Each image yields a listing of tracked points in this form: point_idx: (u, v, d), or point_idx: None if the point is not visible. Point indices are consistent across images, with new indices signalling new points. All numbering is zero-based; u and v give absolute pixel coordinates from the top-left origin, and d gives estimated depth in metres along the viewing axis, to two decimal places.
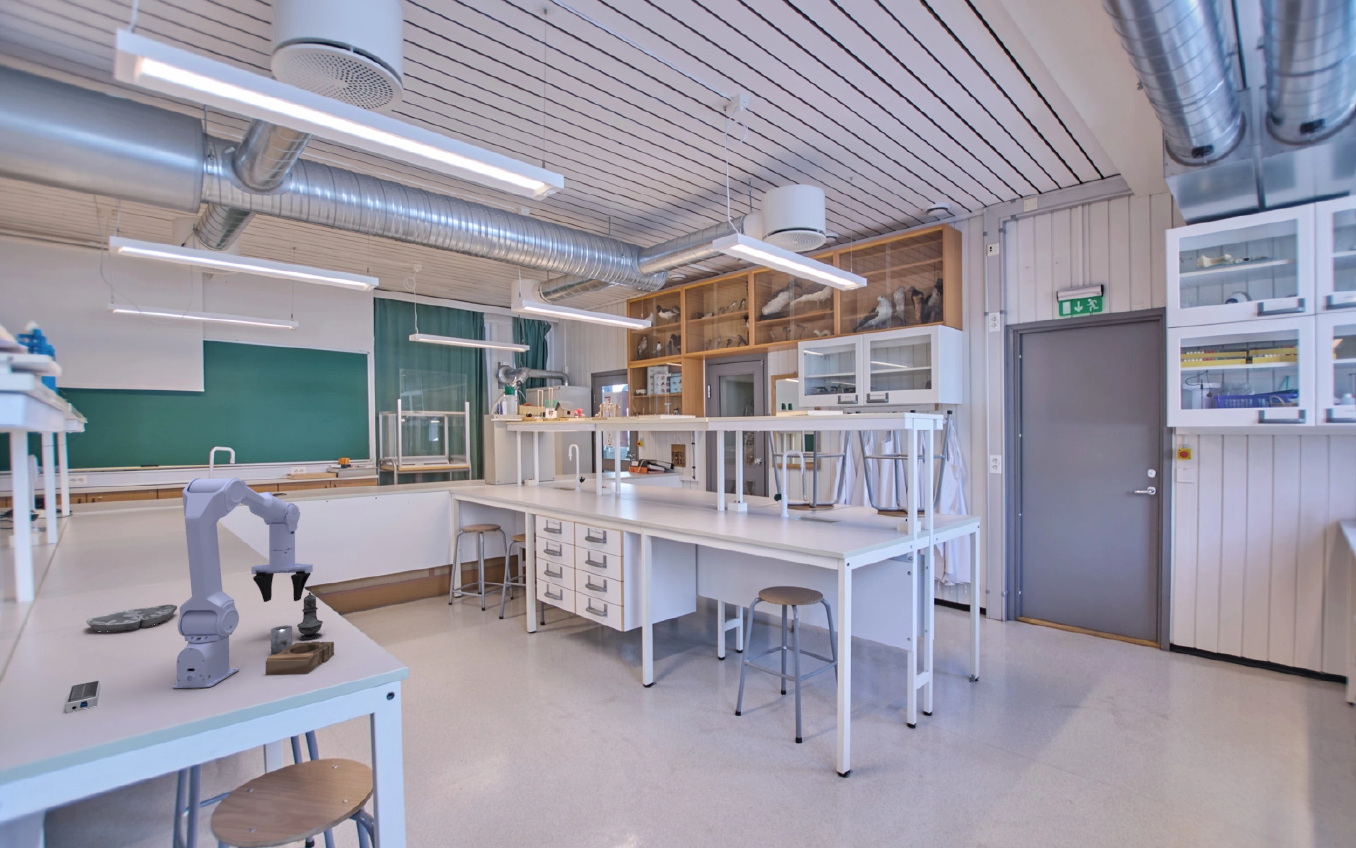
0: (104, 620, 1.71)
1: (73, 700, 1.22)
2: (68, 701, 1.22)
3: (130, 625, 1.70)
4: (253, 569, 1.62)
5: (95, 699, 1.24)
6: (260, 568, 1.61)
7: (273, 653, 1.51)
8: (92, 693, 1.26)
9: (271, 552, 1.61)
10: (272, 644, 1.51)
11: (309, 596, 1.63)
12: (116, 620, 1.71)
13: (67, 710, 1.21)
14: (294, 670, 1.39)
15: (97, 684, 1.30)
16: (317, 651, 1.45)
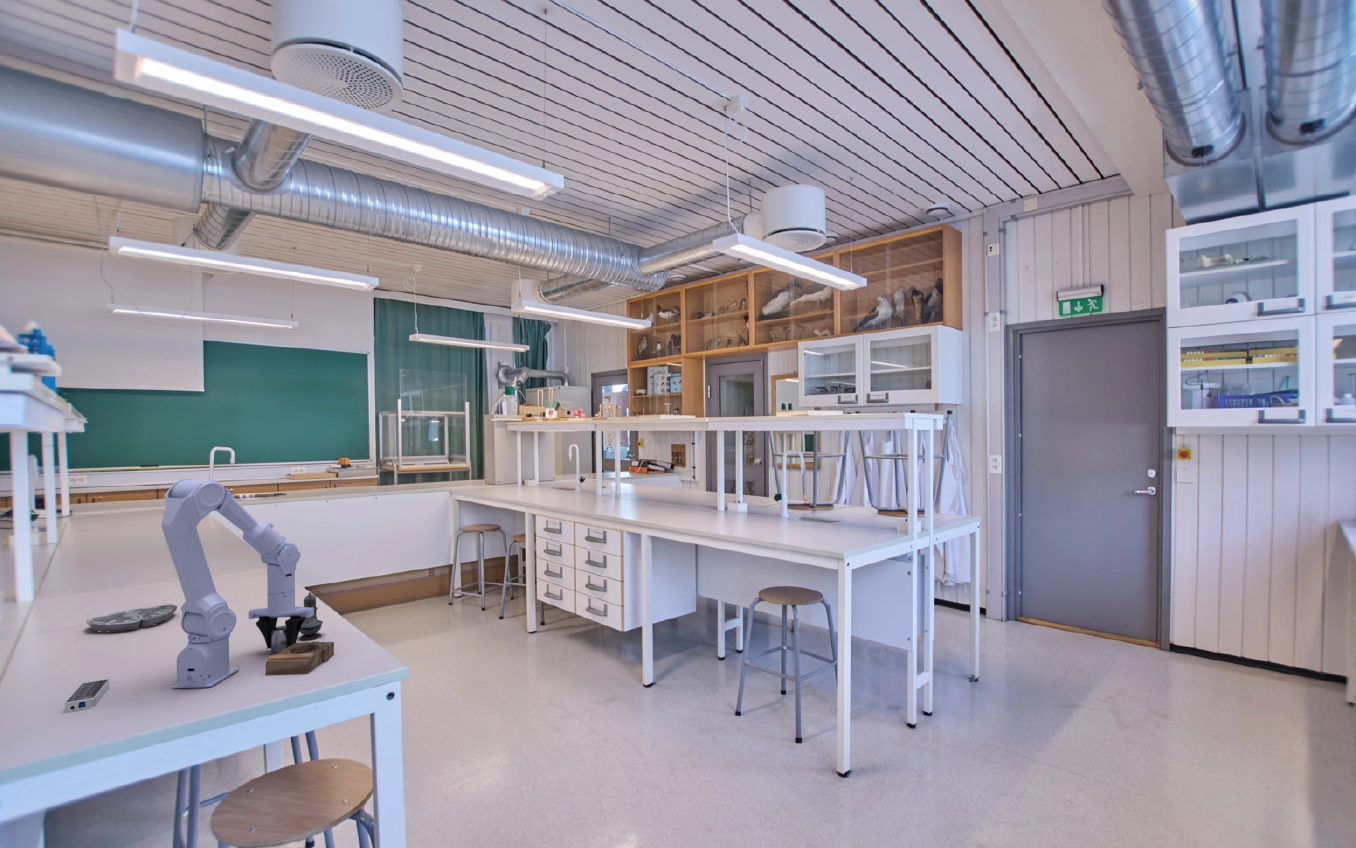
0: (104, 620, 1.71)
1: (72, 700, 1.22)
2: (67, 700, 1.22)
3: (130, 625, 1.70)
4: (250, 614, 1.51)
5: (93, 700, 1.23)
6: (258, 613, 1.51)
7: (273, 653, 1.51)
8: (94, 693, 1.26)
9: (269, 596, 1.50)
10: (272, 644, 1.51)
11: (309, 596, 1.63)
12: (116, 620, 1.71)
13: (66, 710, 1.21)
14: (294, 670, 1.39)
15: (104, 683, 1.30)
16: (317, 651, 1.45)
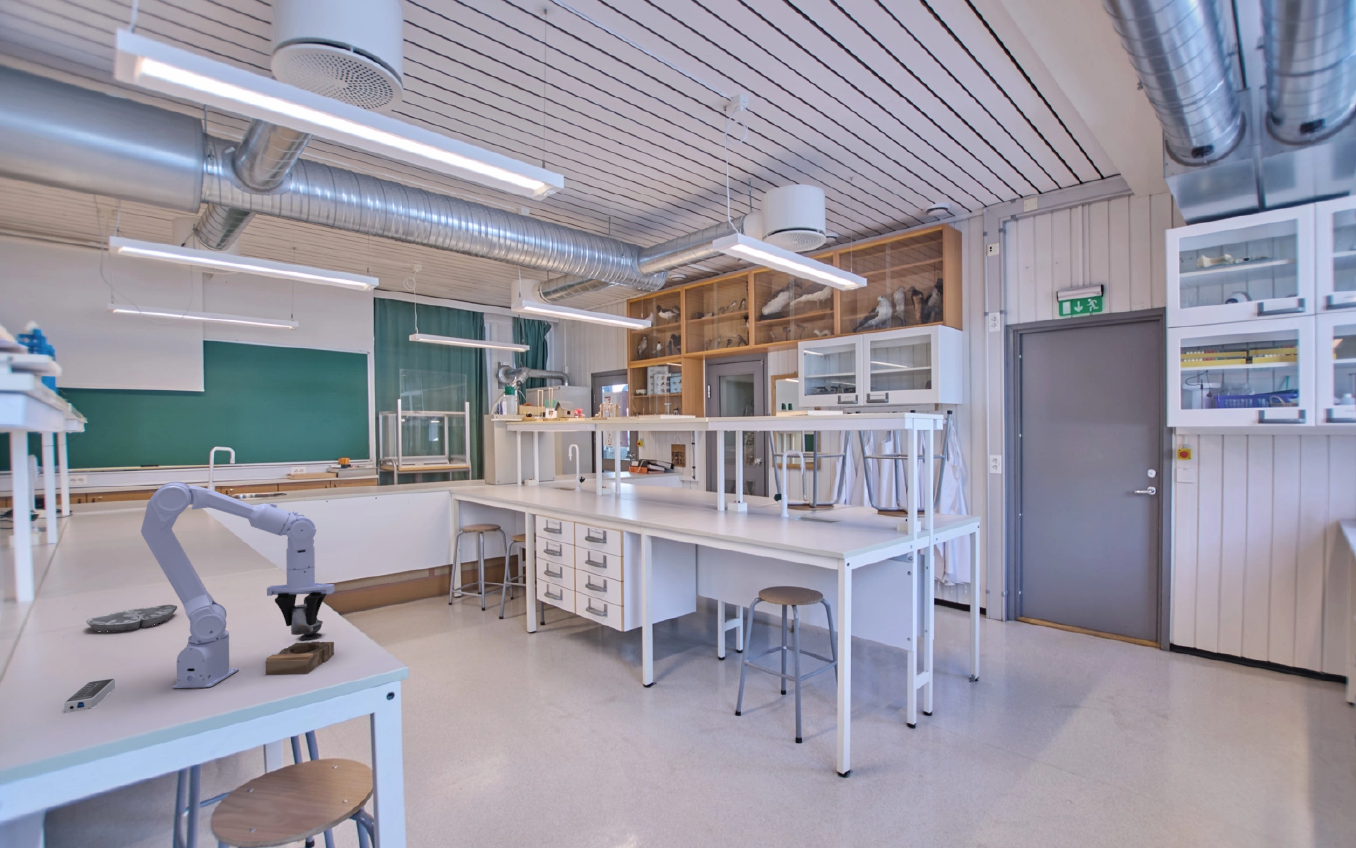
0: (104, 620, 1.71)
1: (72, 699, 1.22)
2: (67, 700, 1.22)
3: (130, 625, 1.70)
4: (269, 590, 1.46)
5: (91, 700, 1.23)
6: (276, 589, 1.46)
7: (294, 632, 1.46)
8: (95, 693, 1.26)
9: (289, 571, 1.45)
10: (293, 623, 1.46)
11: None
12: (116, 620, 1.71)
13: (65, 709, 1.21)
14: (294, 670, 1.39)
15: (108, 683, 1.30)
16: (317, 651, 1.45)
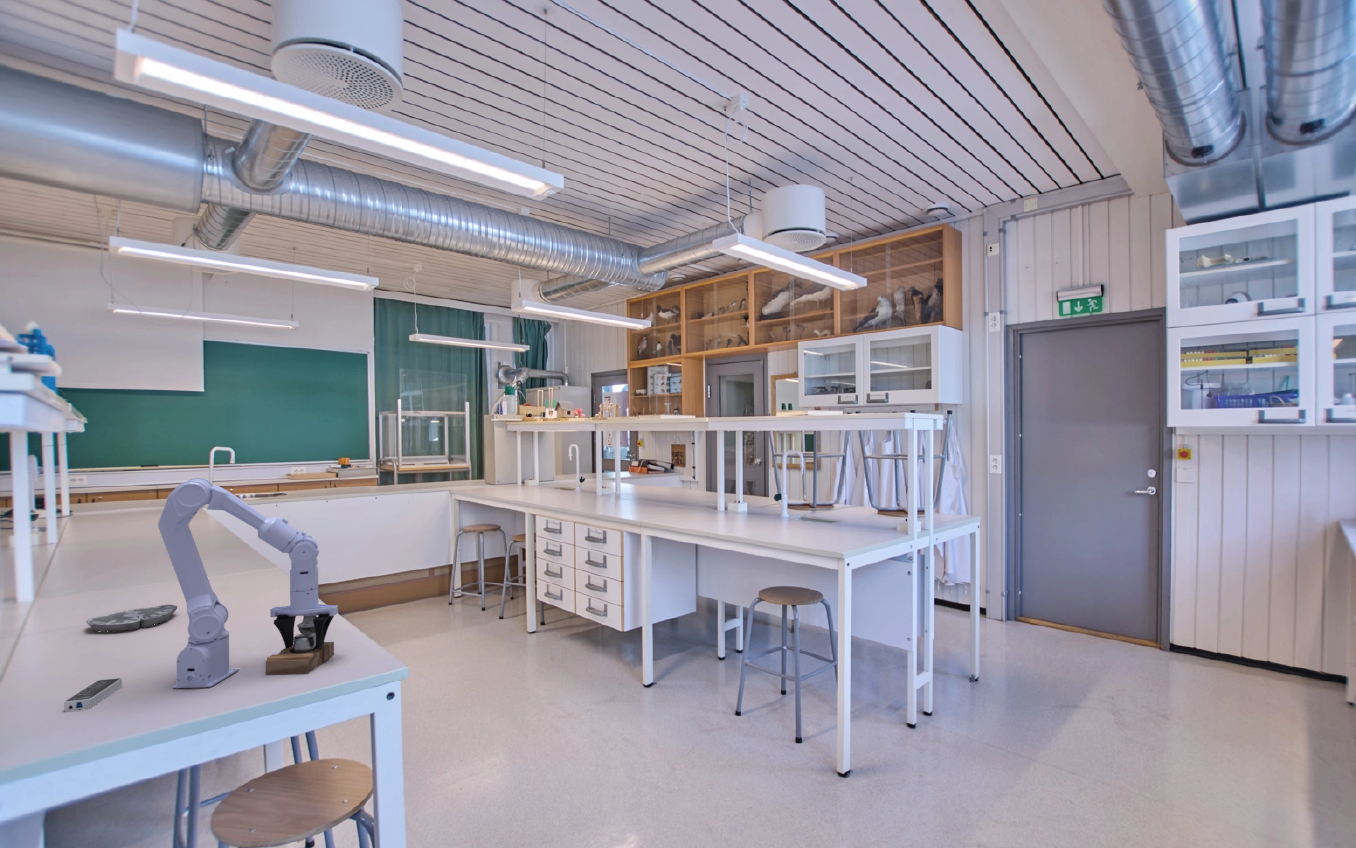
0: (104, 620, 1.71)
1: (72, 699, 1.23)
2: (68, 699, 1.22)
3: (130, 625, 1.70)
4: (272, 612, 1.45)
5: (89, 701, 1.23)
6: (280, 611, 1.45)
7: None
8: (95, 693, 1.26)
9: (292, 593, 1.44)
10: (296, 652, 1.45)
11: None
12: (116, 620, 1.71)
13: (64, 709, 1.22)
14: (294, 670, 1.39)
15: (113, 682, 1.31)
16: (317, 651, 1.45)
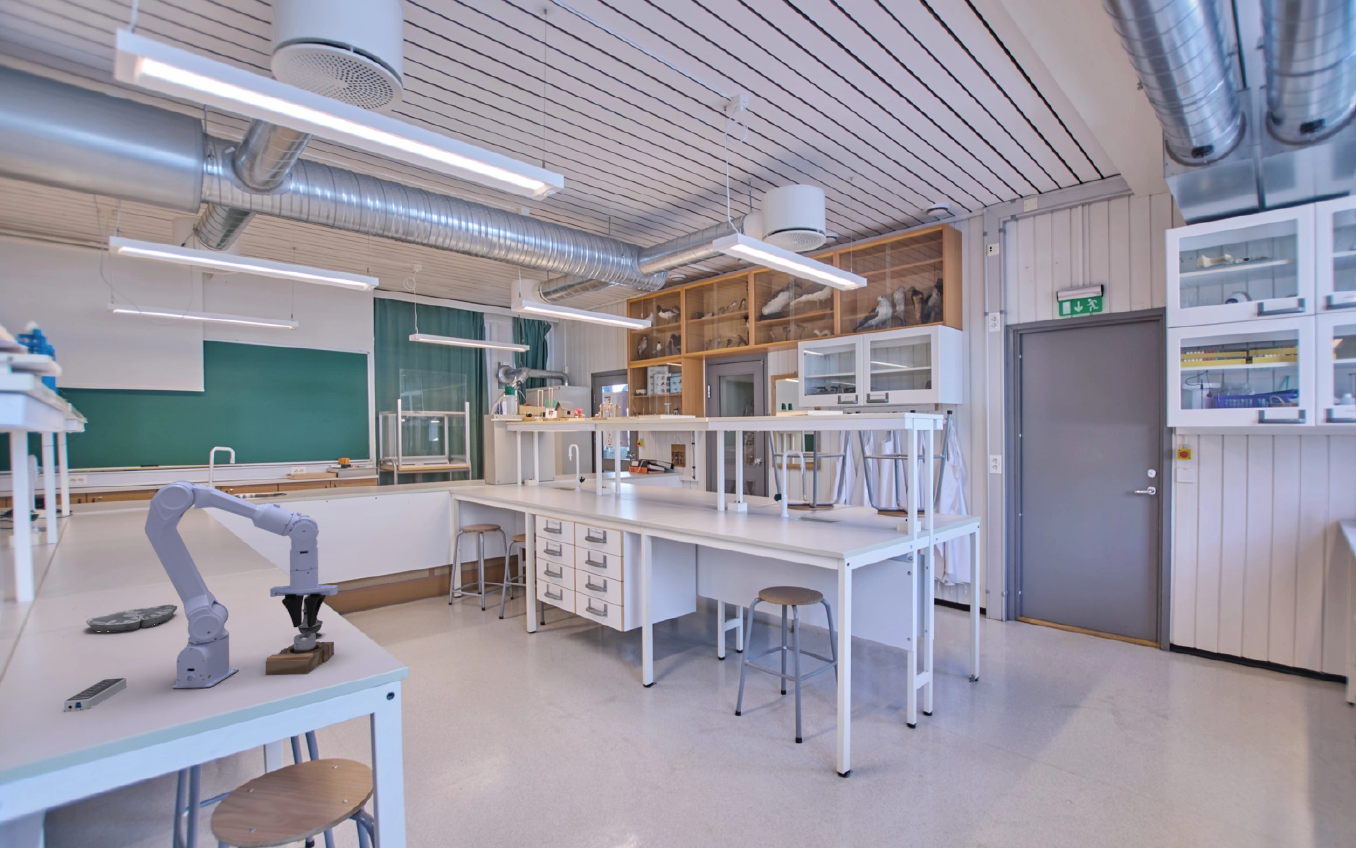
0: (104, 620, 1.71)
1: (72, 699, 1.23)
2: (68, 699, 1.23)
3: (130, 625, 1.70)
4: (272, 591, 1.45)
5: (88, 701, 1.23)
6: (280, 590, 1.45)
7: None
8: (96, 693, 1.25)
9: (292, 572, 1.44)
10: (296, 652, 1.45)
11: (309, 596, 1.63)
12: (116, 620, 1.71)
13: (64, 708, 1.22)
14: (294, 670, 1.39)
15: (116, 682, 1.31)
16: (317, 651, 1.45)
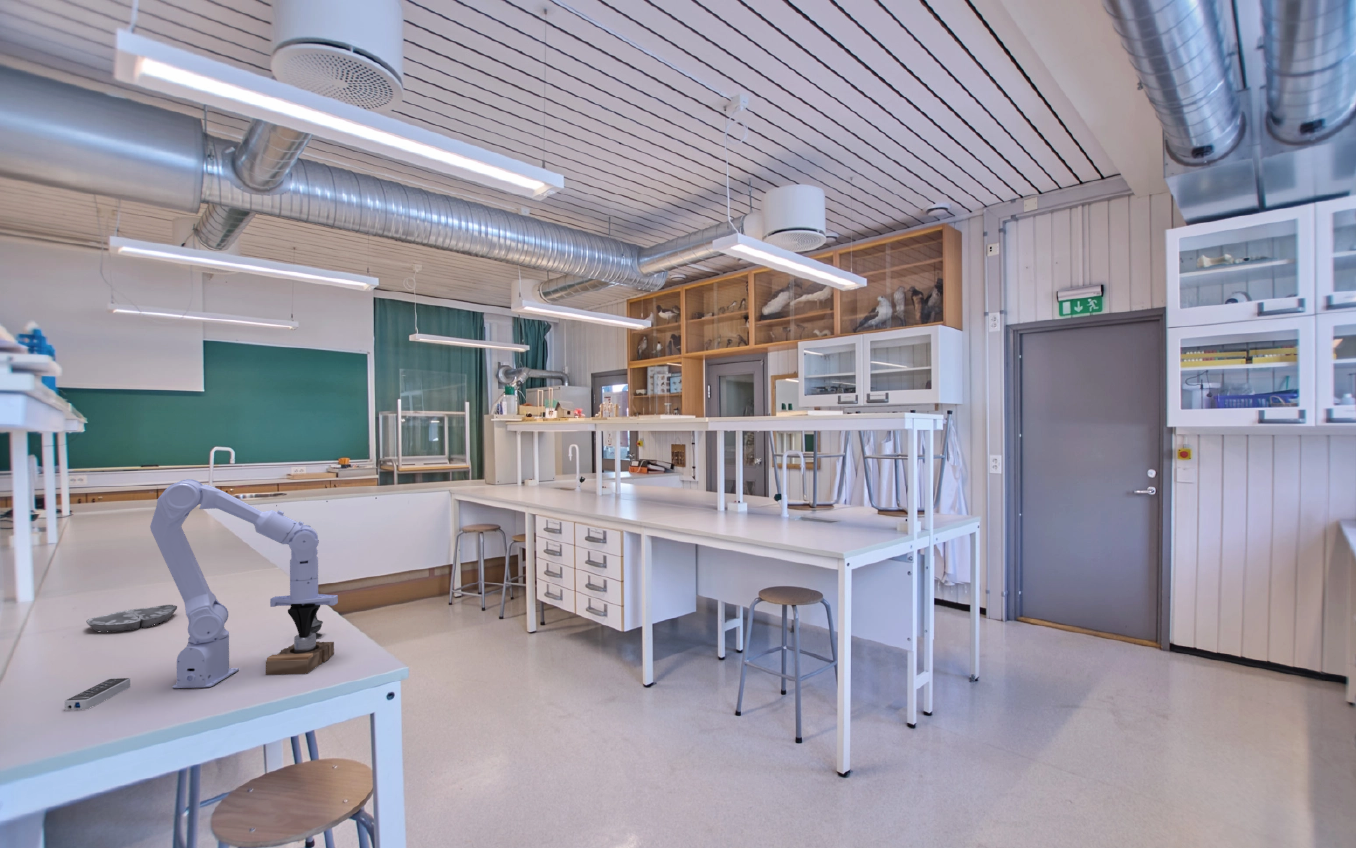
0: (104, 620, 1.71)
1: (72, 698, 1.23)
2: (68, 699, 1.23)
3: (130, 625, 1.70)
4: (272, 601, 1.45)
5: (86, 702, 1.22)
6: (280, 600, 1.45)
7: None
8: (96, 693, 1.25)
9: (292, 582, 1.44)
10: (296, 652, 1.45)
11: None
12: (116, 620, 1.71)
13: None
14: (294, 670, 1.39)
15: (119, 682, 1.30)
16: (317, 651, 1.45)
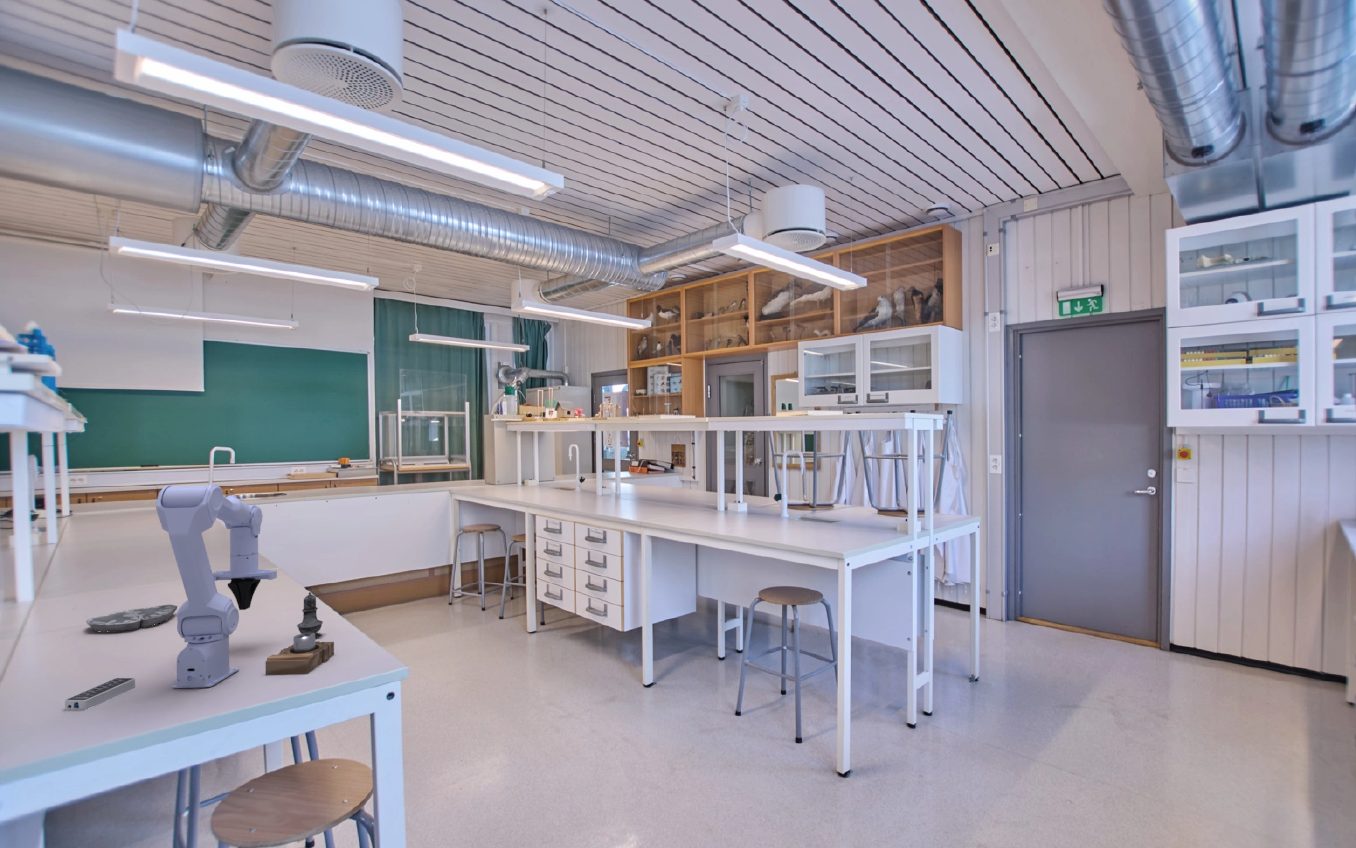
0: (104, 620, 1.71)
1: (73, 698, 1.23)
2: (69, 698, 1.23)
3: (130, 625, 1.70)
4: (213, 575, 1.53)
5: (84, 702, 1.22)
6: (220, 574, 1.52)
7: None
8: (96, 693, 1.25)
9: (232, 558, 1.52)
10: (295, 652, 1.45)
11: (309, 596, 1.63)
12: (116, 620, 1.71)
13: (65, 707, 1.22)
14: (294, 670, 1.39)
15: (122, 683, 1.30)
16: (317, 651, 1.45)
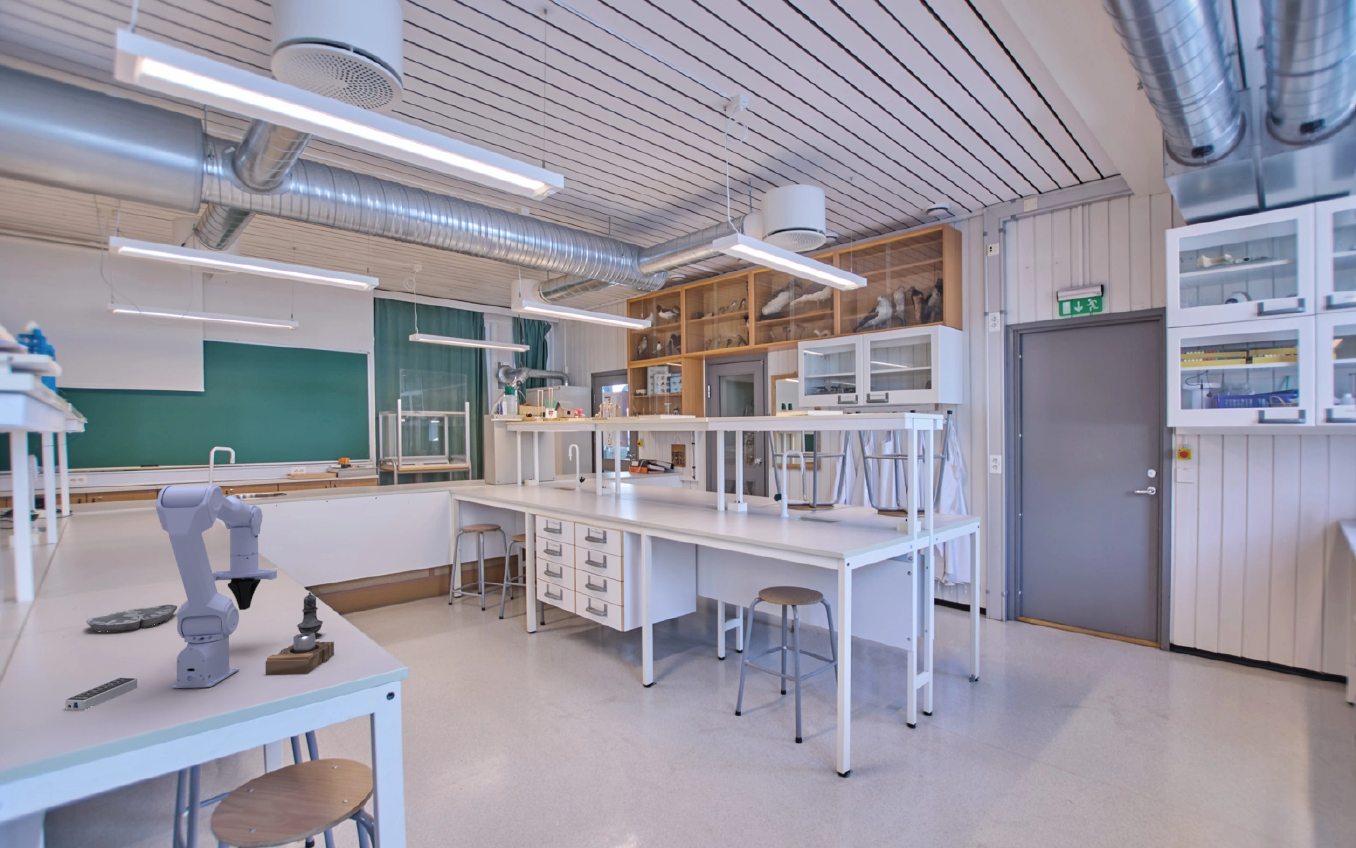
0: (104, 620, 1.71)
1: (73, 698, 1.23)
2: (70, 698, 1.23)
3: (130, 625, 1.70)
4: (213, 575, 1.53)
5: (83, 703, 1.22)
6: (220, 574, 1.52)
7: None
8: (96, 694, 1.25)
9: (232, 558, 1.52)
10: (295, 652, 1.45)
11: (309, 596, 1.63)
12: (116, 620, 1.71)
13: None
14: (294, 670, 1.39)
15: (124, 683, 1.30)
16: (317, 651, 1.45)
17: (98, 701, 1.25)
